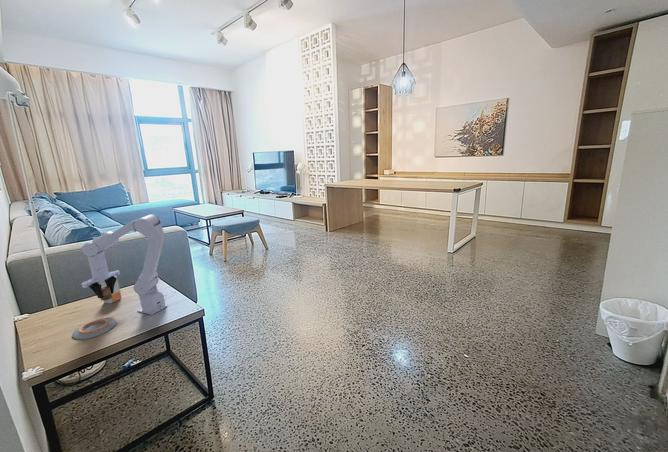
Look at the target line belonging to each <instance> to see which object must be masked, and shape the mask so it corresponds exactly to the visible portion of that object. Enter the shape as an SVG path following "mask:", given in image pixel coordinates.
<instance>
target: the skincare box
mask: <svg viewBox="0 0 668 452" xmlns="http://www.w3.org/2000/svg"><path fill="white" fill-rule="evenodd" d="M114 277H116V278H117V280H116V282H115V285H114V293H113V294H112V298H111V299H109V300H105V301H103V303H104V304H112V303H114V302H117V301H118V300H120V299H122V294H121V289H120V283H119V279H118V275H116V276H114ZM98 283H99V284H100V285H101V288H102V287H105V286H107V285H106V283H105V281H104V280H103V281H101V282H98Z"/></svg>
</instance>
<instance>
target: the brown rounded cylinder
mask: <svg viewBox="0 0 668 452" xmlns="http://www.w3.org/2000/svg"><path fill="white" fill-rule="evenodd" d="M101 291H102V295H103V298H101V299H100V300H101V301H103V302H104V301H105V300H109V299H111V298H112V294H111V290H110V287H109V286H105V287H102V288H101Z"/></svg>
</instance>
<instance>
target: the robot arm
mask: <svg viewBox="0 0 668 452" xmlns="http://www.w3.org/2000/svg"><path fill="white" fill-rule="evenodd" d="M162 223H163V222H162V220H161V218H159V216H157V215H156V214H155V213H153V214H152V213H150V214H147V215H145V216H142V217H140V218H136V219H134V220H132V221H129V222H127V223H125V224H124V225H123V226H121V227H119V228H118V229H116V230H114V231H103V232H102V233H101V235H100V236H98V237H93V238H92V240H91V241H88V242H85V243H84V244H83V245H82V246H81V251H82V253H83V255H84V256H85V255H86V257H87V260H88V265H89V268H90V269H89V270H90V272H91V277H92V278H90V279H87V280H86V281H84V282H81V287H82V288H83V289H87V288H90V289H91V290H92V292H93V293H94V294H95V295H96V296H97V298H98V299H100V300H101V298H103V295H102V291H101V285H100V283H99V282H101V281H103V280H104V281H105V283H106V285H107V286H109V287H110V290H111V294H113V293H114V285H115V282H116V280H117V278H118V277H117V278H116V277H114V276H119V275H121V272H120V270H113V271H109V268H108V264H107V260H106V255H105V254H106V251H105V250H106V249H108V248H110V247H112V246H113V245H116V244H117V243H118V242H119V239H120V238H121V237H123V236H125V235H127V234H129V233H130V232H134V233H136V232H138V233H139V234H141V236H143V237H145V238H147V239H148V241H149V242H148V246H147V249H146V255H145V259H144V263H143V266H142V267H143V268H142V271H141V272H140V275H139V277H138V278H137V281H136V283H135V282H134V285H133V291H134V292H135V293H136V294H137V295H138V297H139V302H140V307H141V308H139V309H137V312H139V313H144V314H147V315H154V314H156V313H157V312H160V311H162V310H163V309H165V308H166V307H168V305H167V304H166V303H165V302H166V301H165V296H164V294H163V293H162V292H160V291H159V290H158V286H157V284H158V283H159V277H158V275H159V273H158V271H157V269H158V266H159V261H160V258H161V253H162V249H163V245H164V243H165V242H164V241H165V237H166V235H165V233H164V230H163V225H162Z"/></svg>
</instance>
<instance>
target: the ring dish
mask: <svg viewBox="0 0 668 452" xmlns="http://www.w3.org/2000/svg"><path fill="white" fill-rule="evenodd" d="M115 326H117V320H116V319H115V318H111V317H103V318H96V319H92V320H91V321H88V322H85V323H83V324H82V325H80V326H79V327H77V328H75V330H74V331H73V332H72V334H71V336H72V338H73V339H75V340H79V341H80V340H89V339H92V338H96V337H99V336H101V335H103V334H105V333H108V332H109V331H111V330H112V329H114V328H115Z"/></svg>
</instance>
